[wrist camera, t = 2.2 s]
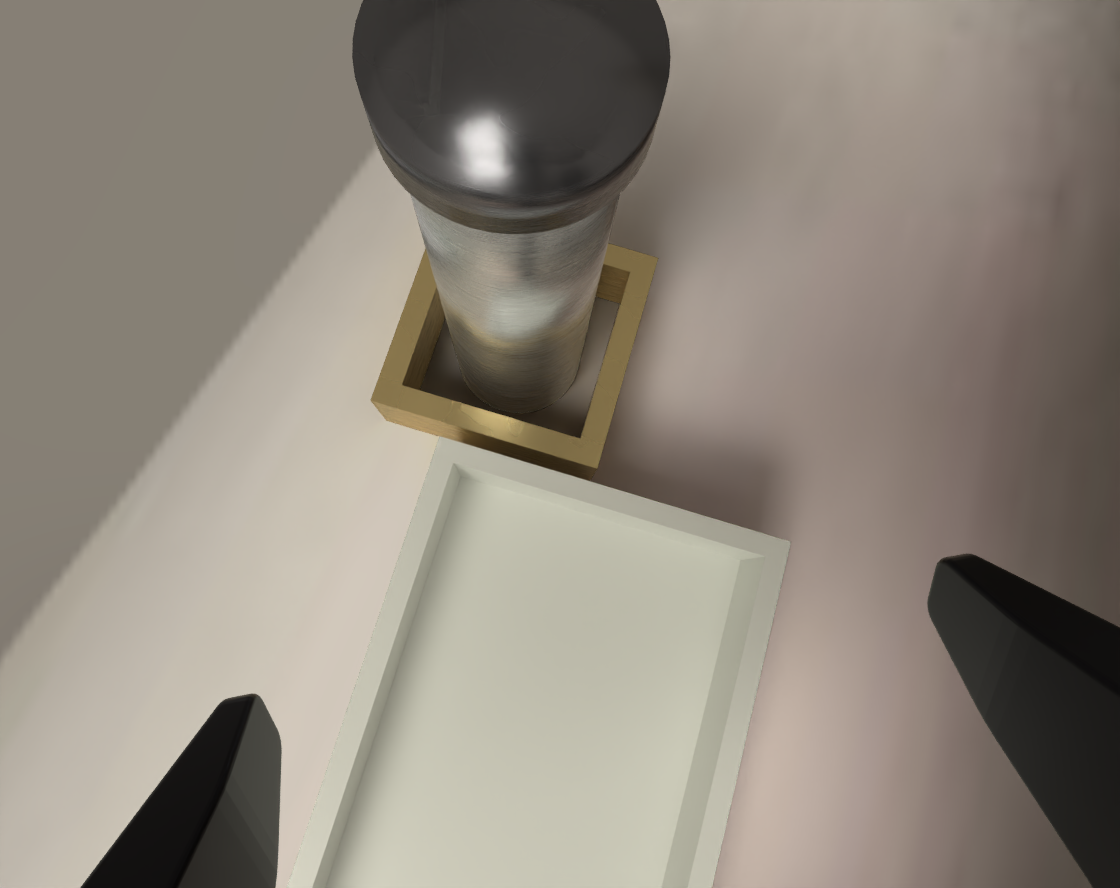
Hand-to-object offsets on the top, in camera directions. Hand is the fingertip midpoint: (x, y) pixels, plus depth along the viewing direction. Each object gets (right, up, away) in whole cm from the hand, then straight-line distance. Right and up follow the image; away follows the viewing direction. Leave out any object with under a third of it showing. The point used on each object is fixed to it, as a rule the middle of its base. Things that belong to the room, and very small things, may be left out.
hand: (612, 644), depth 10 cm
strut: (-2, +6, +15) cm, 16 cm away
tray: (-2, -8, +12) cm, 14 cm away
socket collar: (-2, +6, +15) cm, 16 cm away
